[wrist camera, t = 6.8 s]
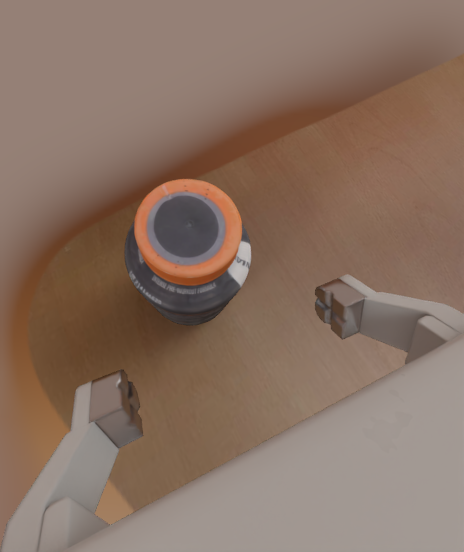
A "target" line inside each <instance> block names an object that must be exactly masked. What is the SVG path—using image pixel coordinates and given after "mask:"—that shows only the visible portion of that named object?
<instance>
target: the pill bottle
mask: <svg viewBox="0 0 464 552" xmlns="http://www.w3.org/2000/svg"><path fill="white" fill-rule="evenodd" d="M250 262H251V245H250V240H249V237H248V234H247V232H246V230H245V228H244V226H243V224H242V222H241V217H240V214H239V212H238V210H237V208H236V206H235V204H234V203H233V201H232V200H231V199H230V198H229V197H228V196H227V195H226V194H225V193H224V192H223V191H221V190H220V189H219V188H217V187H216V186H214V185H212V184H209V183H207V182H204V181H200V180H194V179H179V180H174V181H169V182H167V183H164V184H162V185H160V186H159V187H157V188H155V189H154V190H153V191H152V192H150V193H149V194H148V195H147V196H146V197H145V198H144V200H143V201H142V203H141V205H140V206H139V208H138V210H137V213H136V217H135V220H134V222H133V224H132V225H131V227H130V230H129V232H128V235H127V238H126V243H125V263H126V267H127V270H128V273H129V276H130V278H131V280H132V282H133V284H134V285H135V287H136V288H137V290H138V291H139V292H140V293H141V294H142V295H143V296H144V297H145V298H146V299H147V300H148V301H149V302H150V303H151V304H152V305H153V306H154V307H155V308H156V309H157V310H158V311H159V312H160V313H161V314H162V315H163V316H164V317H166V318H168V319H169V320H171V321H173V322H175V323H177V324H183V325H198V324H202V323H205V322H208V321H210V320H212V319H213V318H215V317H216V316H217V315H218V314H219V313H220V312H221V311H222V310H223V308H224V307H225V306H226V305H227V304H228V302H229V301H230V300H231V299H232V298H233V297H234V296H235V295H236V293H237V292H238V291H239V289H240V288H241V286H242V285H243V283H244V281H245V279H246V277H247V275H248V271H249V268H250Z"/></svg>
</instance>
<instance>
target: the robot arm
mask: <svg viewBox="0 0 464 552" xmlns="http://www.w3.org/2000/svg"><path fill="white" fill-rule="evenodd" d="M315 295H316V296H317V297H318V298H317V300H316V302H315V310H316V312H317V315H318V316H319V318H320V319H321V320H322V321H323V322H324V323H327V324H330V325H331V330H332V331H333V332H335V333H336V334H337V335H338V336H339V337H340V338H341V339H342V340H343V339H345V338H347V337H350V336H352V335H354V334H356V333H358V332H360V333H361V334H363V335H366V336H368V337H371V338H373V339H376V340H378V341H381V342H383V343H386V344H388V345H391V346H394V347H396V348H399V349H401V350H404V351H406V352H408V354H407V357H406V360H405V365H404V366H402V367H400V368H399V369H397V370H395V371H393V372H391V373H389V374H387V375H386V376H384V377H382V378H380V379H378V380H376V381H375V382H373V383H371V384H369V385H367V386H365V387H364V388H362V389H360V390H358V391H356V392H354V393H352V394H351V395H349V396H347V397H345V398H343V399H341V400H340V401H338V402H336V403H334V404H332V405H330V406H328V407H327V408H325V409H323V410H321V411H319V412H317V413H316V414H314V415H312V416H310V417H308V418H306V419H305V420H303V421H301V422H299V423H297V424H295V425H293V426H292V427H290V428H288V429H286V430H284V431H282V432H281V433H279V434H277V435H275V436H273V437H271V438H270V439H268V440H266V441H264V442H262V443H260V444H259V445H257V446H255V447H253V448H251V449H249V450H248V451H246V452H244V453H242V454H240V455H238V456H236V457H235V458H233V459H231V460H229V461H227V462H225V463H224V464H222V465H220V466H218V467H216V468H214V469H213V470H211V471H209V472H207V473H205V474H203V475H202V476H200V477H198V478H196V479H194V480H192V481H190V482H189V483H187V484H185V485H183V486H181V487H179V488H178V489H176V490H174V491H172V492H170V493H168V494H167V495H165V496H163V497H161V498H159V499H157V500H156V501H154V502H152V503H150V504H148V505H146V506H144V507H143V508H141V509H139V510H137V511H135V512H133V513H132V514H130V515H128V516H126V517H124V518H122V519H121V520H119V521H117V522H115V523H113V524H111V525H109V524H108V523H107V522H105V521H104V520H102V519H101V518H99V517H98V516H96V515H95V514H94V513H95V511H96V508H97V506H98V503H99V501H100V498H101V495H102V493H103V490H104V488H105V485H106V483H107V480H108V478H109V475H110V472H111V470H112V467H113V465H114V462H115V460H116V457H117V454H118V452H119V448H121V447H123V446H125V445H127V444H128V443H130V442H132V441H134V440H136V439H138V438H140V437H142V436H143V428H142V419H141V417H140V415H139V414H138V410H139V408H140V402H139V397H138V393H137V391H136V388H135V386H134V385H133V383H132V382H129V381H128V377H127V374H126V372H125V371H124V370H123V369H121V370H118V371H116V372H113V373H111V374H108V375H105V376H103V377H100V378H98V379H95V380H93V381H91V382H88V383H86V384H83V385H81V386H78V387H77V389H76V391H75V399H74V408H73V416H72V424H71V432H69V433H67V434H66V435H65V436H64V438H63V439H62V441H61V442H60V444H59V445H58V447H57V448H56V450H55V451H54V453H53V454H52V456H51V457H50V459H49V460H48V462H47V463H46V465H45V466H44V468H43V469H42V471H41V473H40V474H39V476H38V477H37V479H36V480H35V482H34V483H33V485H32V486H31V488H30V489H29V491H28V492H27V494H26V495H25V497H24V498H23V500H22V501H21V503H20V504H19V506H18V508H17V509H16V511H15V512H14V514H13V515H12V517H11V518H10V520H9V521H8V523H7V524H6V528H5V532H4V536H3V540H2V544H1V548H0V552H464V314H463V313H461V312H459V311H458V310H456V309H454V308H452V307H450V306H448V305H447V304H441V303H436V302H431V301H426V300H421V299H416V298H411V297H405V296H400V295H395V294H390V293H385V292H379V293H377V292H375V291H374V290H372V289H371V288H369V287H368V286H366V285H365V284H363V283H362V282H360V281H358V280H357V279H355V278H354V277H352V276H351V275H347V274H346V275H344V276H341V277H339V278H337V279H334V280H332V281H330V282H327V283H325V284H323V285H321V286H318V287H316V289H315Z"/></svg>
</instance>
